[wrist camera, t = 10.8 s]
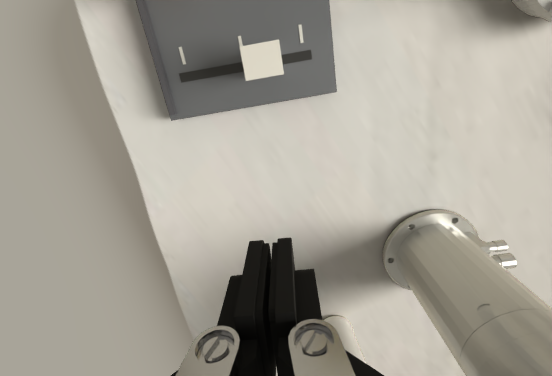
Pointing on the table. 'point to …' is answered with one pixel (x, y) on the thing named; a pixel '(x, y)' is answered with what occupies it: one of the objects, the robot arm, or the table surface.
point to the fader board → (236, 51)
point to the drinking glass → (346, 335)
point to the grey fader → (262, 60)
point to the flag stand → (536, 8)
